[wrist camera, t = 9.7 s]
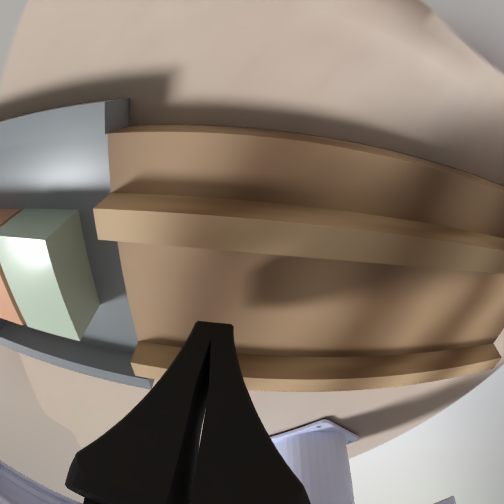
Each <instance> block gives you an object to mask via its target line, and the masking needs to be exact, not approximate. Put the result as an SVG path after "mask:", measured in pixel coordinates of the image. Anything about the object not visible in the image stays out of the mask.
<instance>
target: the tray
mask: <svg viewBox="0 0 504 504" xmlns="http://www.w3.org/2000/svg"><path fill="white" fill-rule="evenodd" d="M129 101H130V98H126V99H115V100H105V101H97V102H89V103H82V104H75V105H69V106H63V107H58V108H53V109H47V110H43V111H38V112H34V113H29V114H25V115H21V116H17V117H13V118H10V119H6V120H2V121H0V209H20V212H21V211H22V210H23V209H25V208H32V209H72V210H79V215H80V221H81V226H82V232H83V237H84V242H85V246H86V251H87V255H88V260H89V264H90V268H91V272H92V276H93V280H94V284H95V287H96V291H97V295H98V298H99V301H100V306H99V308H98V310H97V311H96V313H95V315H94V317H93V318H92V320H91V322H90V324H89V326H88V327H87V329H86V331H85V333H84V335H83V337H82V339H81V341H77V340H73V339H69V338H66V337H62V336H58V335H54V334H51V333H47V332H44V331H41V330H37V329H34V328H31V327H28V326H27V324H26V322H25V324H24V325H19V324H16V323H14V322H11V321H8V320H5V319H2V318H0V344H1V345H3V346H5V347H8V348H10V349H12V350H15V351H17V352H20V353H22V354H25V355H28V356H30V357H33V358H36V359H39V360H41V361H44V362H47V363H50V364H53V365H56V366H59V367H62V368H65V369H69V370H72V371H75V372H79V373H82V374H86V375H90V376H93V377H97V378H101V379H105V380H109V381H113V382H117V383H122V384H126V385H131V386H136V387H141V388H146V389H152V386H153V382H154V379H150V378H145V377H140V376H135V374H134V371H133V368H132V365H131V363H130V362H131V360H132V357H133V354H134V351H135V349H136V346H137V343H138V338H137V334H136V330H135V326H134V322H133V318H132V314H131V310H130V305H129V301H128V296H127V292H126V287H125V282H124V277H123V272H122V266H121V261H120V255H119V249H118V242H117V241H108V240H98V237H97V231H96V225H95V219H94V212H93V208H94V207H95V206H97V205H98V204H99V203H100V202H101V201H102V200H103V199H105V198H106V197H107V196H108V195H109V194H110V193H111V184H110V172H109V156H108V133H110V132H113V131H116V130H118V129H121V128H124V127H127V126H129Z"/></svg>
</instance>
